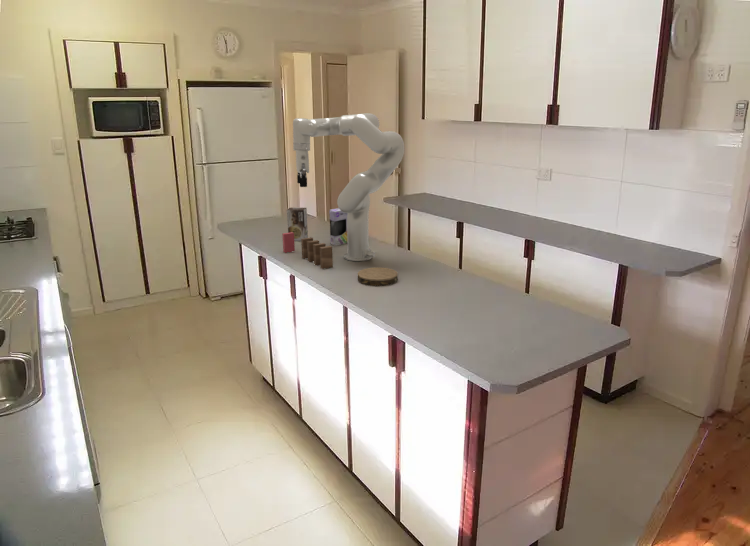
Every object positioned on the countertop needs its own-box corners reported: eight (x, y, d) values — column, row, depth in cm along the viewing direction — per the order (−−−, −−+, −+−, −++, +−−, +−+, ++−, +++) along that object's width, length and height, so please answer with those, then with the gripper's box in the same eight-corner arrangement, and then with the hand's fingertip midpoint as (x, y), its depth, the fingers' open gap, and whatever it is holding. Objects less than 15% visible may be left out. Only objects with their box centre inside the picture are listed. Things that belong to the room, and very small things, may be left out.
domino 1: (302, 258, 246) (301, 238, 243) (311, 256, 248) (311, 237, 246) (303, 259, 244) (303, 239, 242) (313, 257, 247) (313, 238, 244)
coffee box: (308, 238, 281) (307, 207, 276) (305, 241, 275) (304, 209, 270) (291, 237, 282) (289, 207, 277) (288, 240, 276) (286, 209, 271)
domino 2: (307, 261, 241) (307, 241, 238) (317, 259, 244) (317, 240, 241) (309, 262, 239) (309, 242, 237) (319, 260, 242) (319, 241, 239)
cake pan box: (334, 246, 265) (333, 210, 260) (327, 244, 269) (326, 209, 264) (364, 239, 278) (363, 205, 272) (357, 238, 281) (357, 204, 276)
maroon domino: (283, 252, 256) (282, 233, 253) (293, 250, 258) (292, 232, 255) (285, 253, 254) (284, 234, 251) (294, 251, 257) (293, 233, 254)
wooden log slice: (351, 284, 212) (351, 277, 211) (366, 272, 226) (366, 265, 225) (390, 288, 207) (390, 281, 206) (402, 276, 221) (402, 269, 220)
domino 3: (314, 264, 236) (313, 244, 234) (324, 262, 239) (323, 242, 236) (316, 265, 235) (315, 245, 232) (326, 263, 237) (325, 243, 235)
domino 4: (320, 267, 231) (319, 247, 229) (330, 265, 234) (330, 245, 231) (322, 269, 230) (321, 248, 227) (332, 267, 232) (332, 246, 230)
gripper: (312, 149, 236) (312, 188, 241) (307, 145, 252) (307, 181, 257) (295, 149, 234) (295, 188, 239) (291, 144, 250) (292, 182, 255)
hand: (302, 185), depth 248 cm, fingers open, 9 cm apart
